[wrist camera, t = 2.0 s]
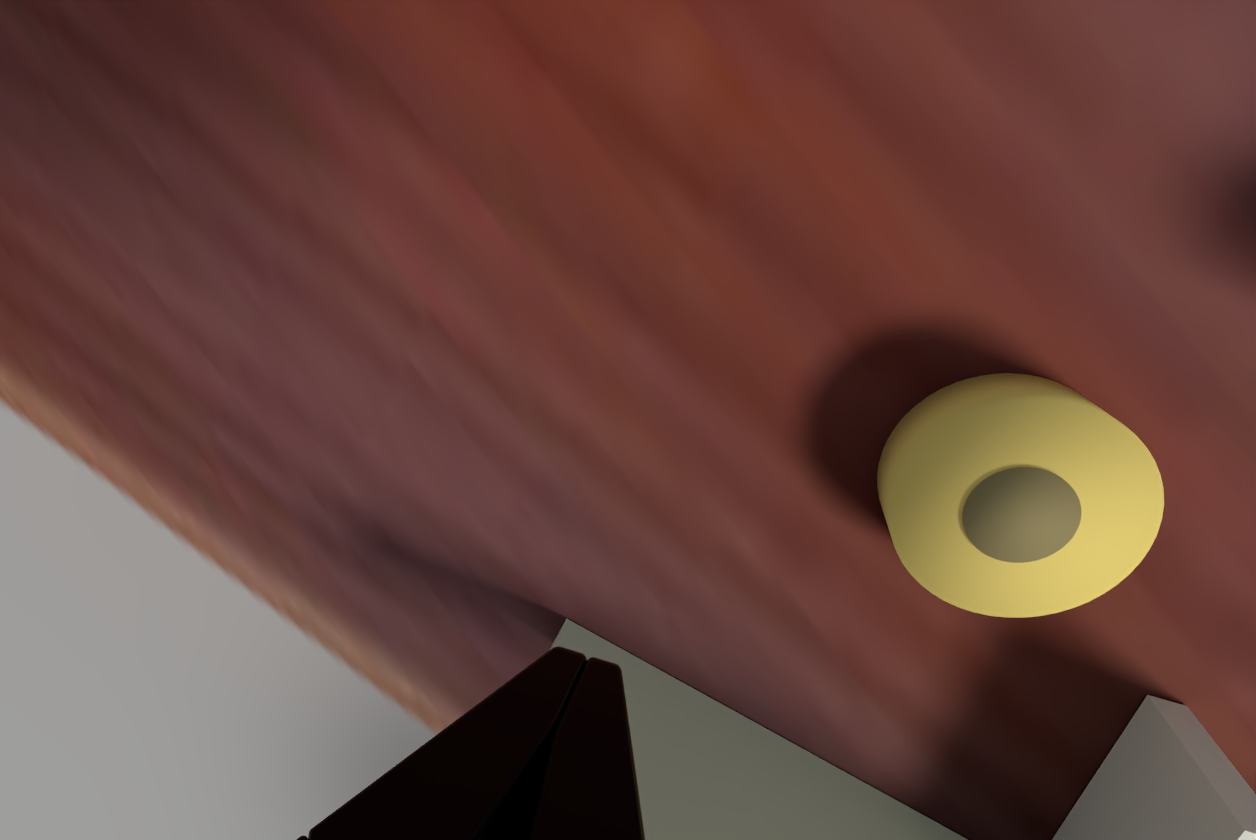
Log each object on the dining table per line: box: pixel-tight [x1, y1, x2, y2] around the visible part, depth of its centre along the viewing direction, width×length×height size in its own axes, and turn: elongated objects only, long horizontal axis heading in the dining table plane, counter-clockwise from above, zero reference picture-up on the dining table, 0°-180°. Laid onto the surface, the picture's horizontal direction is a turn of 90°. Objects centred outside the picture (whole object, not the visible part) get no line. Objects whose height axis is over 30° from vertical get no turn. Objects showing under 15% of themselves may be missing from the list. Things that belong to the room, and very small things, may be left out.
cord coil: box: [877, 373, 1164, 618], centre depth 15 cm, size 6×6×2 cm
